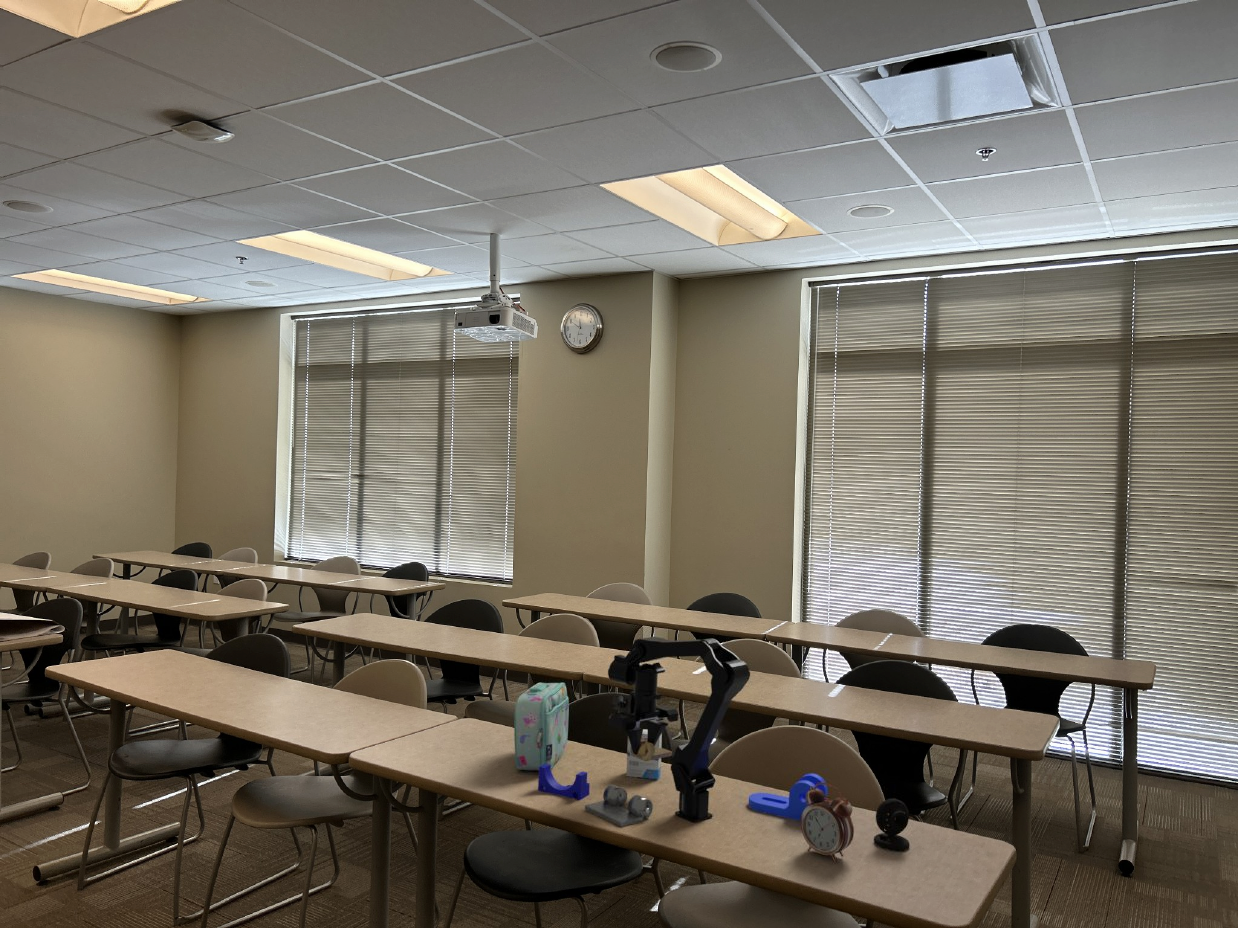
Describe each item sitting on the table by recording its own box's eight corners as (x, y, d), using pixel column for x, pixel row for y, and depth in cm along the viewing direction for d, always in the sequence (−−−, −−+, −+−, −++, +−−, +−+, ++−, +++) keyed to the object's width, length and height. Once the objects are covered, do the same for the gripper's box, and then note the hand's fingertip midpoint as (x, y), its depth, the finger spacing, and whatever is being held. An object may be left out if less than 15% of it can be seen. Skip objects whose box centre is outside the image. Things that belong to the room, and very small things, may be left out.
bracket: (826, 814, 209) (828, 776, 210) (817, 824, 202) (818, 785, 202) (755, 798, 218) (756, 762, 218) (743, 808, 210) (745, 770, 211)
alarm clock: (797, 850, 186) (800, 779, 187) (810, 844, 190) (813, 774, 190) (843, 867, 179) (845, 793, 179) (855, 860, 182) (857, 788, 182)
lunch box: (547, 779, 225) (551, 695, 226) (509, 775, 226) (513, 692, 227) (569, 750, 251) (573, 675, 252) (535, 747, 253) (538, 672, 254)
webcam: (885, 853, 187) (887, 805, 187) (866, 839, 194) (868, 793, 194) (917, 850, 189) (918, 803, 189) (896, 837, 196) (898, 792, 197)
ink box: (661, 774, 233) (663, 730, 233) (657, 780, 228) (659, 735, 228) (629, 770, 235) (631, 726, 235) (625, 776, 230) (627, 731, 230)
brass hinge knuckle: (671, 755, 219) (672, 737, 219) (641, 762, 212) (641, 744, 212) (660, 751, 222) (661, 733, 222) (629, 758, 215) (630, 739, 215)
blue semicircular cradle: (589, 795, 215) (590, 770, 215) (580, 800, 211) (581, 775, 211) (547, 786, 220) (548, 762, 221) (537, 791, 216) (539, 766, 217)
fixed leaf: (655, 818, 201) (656, 798, 201) (623, 827, 194) (624, 807, 194) (614, 800, 212) (615, 781, 212) (583, 808, 205) (583, 789, 205)
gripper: (650, 678, 228) (647, 738, 227) (595, 686, 215) (592, 750, 215) (681, 687, 219) (678, 749, 219) (625, 695, 207) (622, 762, 206)
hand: (642, 752), depth 215 cm, fingers closed on brass hinge knuckle, 4 cm apart
